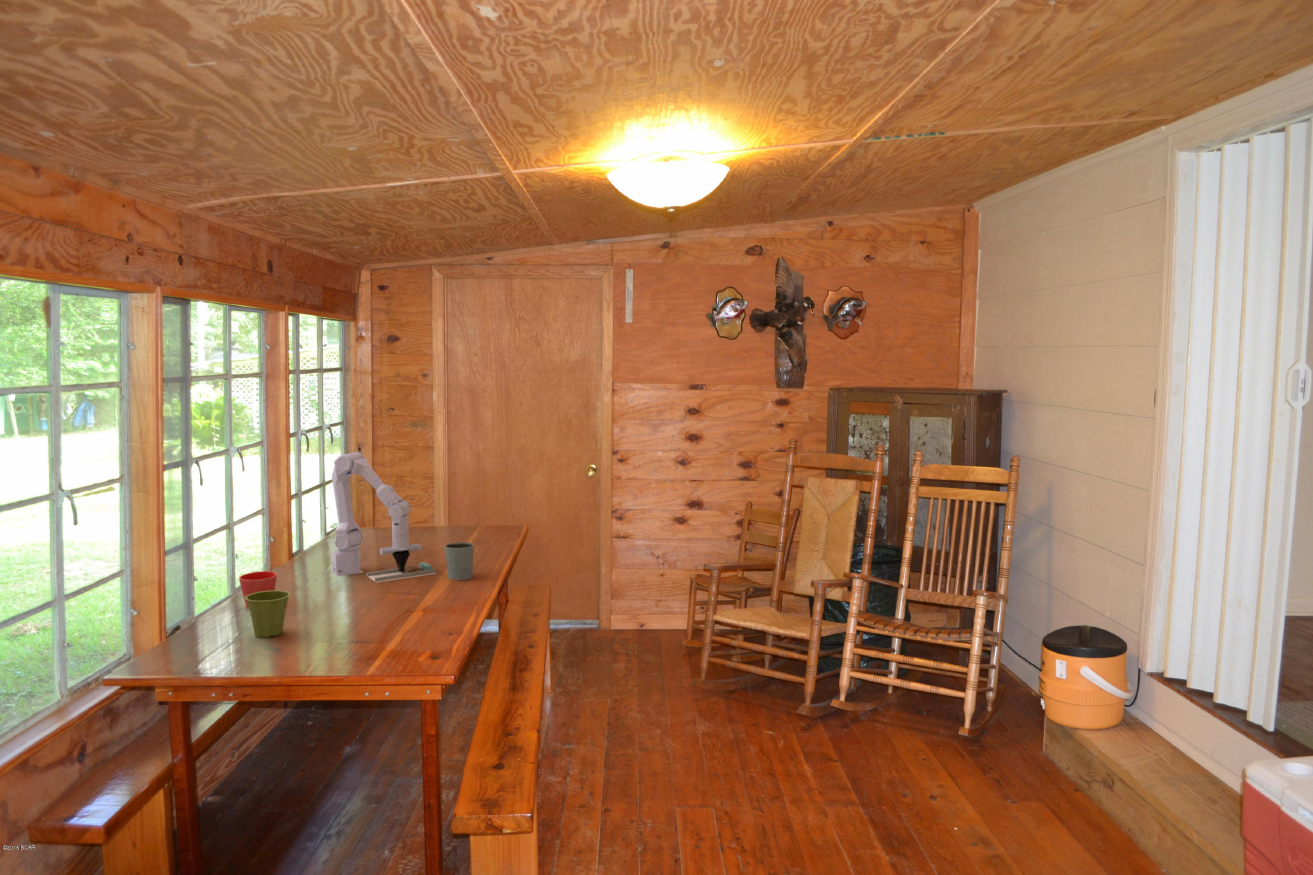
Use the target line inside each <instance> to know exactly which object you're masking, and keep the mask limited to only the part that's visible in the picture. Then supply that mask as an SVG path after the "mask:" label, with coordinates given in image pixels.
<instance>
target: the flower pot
mask: <svg viewBox="0 0 1313 875" xmlns="http://www.w3.org/2000/svg"><path fill="white" fill-rule="evenodd" d="M277 577H278V575H277V573H276V572H273V571H268V570H267V571H265V570H263V571H254V572H250V573H249V572H248V573H245V574H242V575H240V576H239V577H238V581H239V584H240V588H241V593H242V596H243V601H244V603H245V607H246V608H247V609H250V608H249V607H248V602H247V600H246V599H245V597H246V596H247V595H249V594H252V593H256V592H262V591H274V590H276V584H277Z"/></svg>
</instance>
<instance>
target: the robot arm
mask: <svg viewBox="0 0 1313 875" xmlns="http://www.w3.org/2000/svg"><path fill="white" fill-rule="evenodd" d="M333 464H334V467H333V471H332V474H331V480H332V487H333V492H334V495H333V496H334V501H335V506H336V512H337V513H336V514H337V520H338V524H337V527H336V529H335V536H334V542H333V543H334V545H335V547H336V548H337V550H333V551H331V552H332V553H331V573H332V574H334V575H335V576H337V577H341V576H348V575H356V574H363V573H364V571H363V570H361V558H360V557H361V556H360V554H361V553H360V547H361V546H360V545H361V544H362V542H363V540H364V536H363V533H362V531H361V530H360V525H359V524H358V523H357V522H356V521H355V516H354V510H353V502H352V495H351V488H350V482H349V481H350V480H349V479H350V478H351V477H352V476H353V474H355V475H359V476H362V477H363V478H364V479H365V480H366V482H368V483H369V485H371V486H372V487H373V489H375V491H376V497H377V498H378V499H379V500H380V502H382V504H383V505H384V506H385V507H386V508H387V509H388V510H387V511H388V512H387V513H388V515H389V517H390V518H391V533H392V534H391V535H392V536H391V538H392V539H391V543H392V544H391V545H392V546H386V547H383V548H382V547H381V548H379V555H381V556H384V555H388V554H392V558H394V561H395V563H396V566H397V568H398V570H399V572H404V569H405V567H406V564H407V562H408V559H409V557H410V556H411V551H421V550H422V544H420V543H413V544H412V543H411V544H410V541H409V540H410V539H409V538H410V537H409V536H410V534H409V528H410V527H409V514H410V513H411V512H412V511H411V510H412V507H411V506H412V505H411V504H410V503H409V500H406V499H403V497H401V496H399V494H398V493H397V492H396V491H395V488H394V486H391V485H390V484H384V481H382V479H381V478H380V476H379V475H378V474H377V472H375V470H374V469H373V468H372V466H371V465H370V463H369V460H368V459H367V458H366V457H365V456H364V455H363V454H362V453H361V452H359V451H355V452H351V453H346V454H345V453H344V454H340V455H339V456H338V457H337V458H336V459H335V460H334V461H333Z"/></svg>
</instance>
